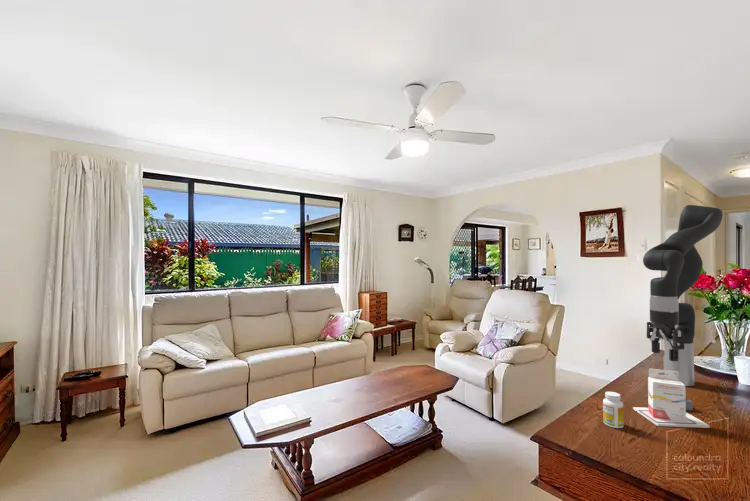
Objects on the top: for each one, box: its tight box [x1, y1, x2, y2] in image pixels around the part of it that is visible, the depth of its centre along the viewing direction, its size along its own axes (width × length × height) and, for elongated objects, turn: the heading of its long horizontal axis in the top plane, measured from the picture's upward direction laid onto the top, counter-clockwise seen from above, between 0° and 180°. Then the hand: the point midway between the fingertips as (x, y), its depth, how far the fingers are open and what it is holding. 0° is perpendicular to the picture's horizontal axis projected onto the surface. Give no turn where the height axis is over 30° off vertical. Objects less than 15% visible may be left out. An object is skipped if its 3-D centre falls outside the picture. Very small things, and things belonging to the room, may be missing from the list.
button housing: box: [686, 398, 694, 411], centre depth 123 cm, size 7×7×3 cm
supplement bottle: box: [602, 391, 625, 429], centre depth 110 cm, size 5×5×10 cm
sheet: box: [632, 406, 711, 429], centre depth 113 cm, size 12×15×1 cm
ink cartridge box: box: [647, 368, 687, 422], centre depth 113 cm, size 9×5×15 cm, turn 67°
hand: (664, 356), depth 117 cm, fingers open, 8 cm apart
